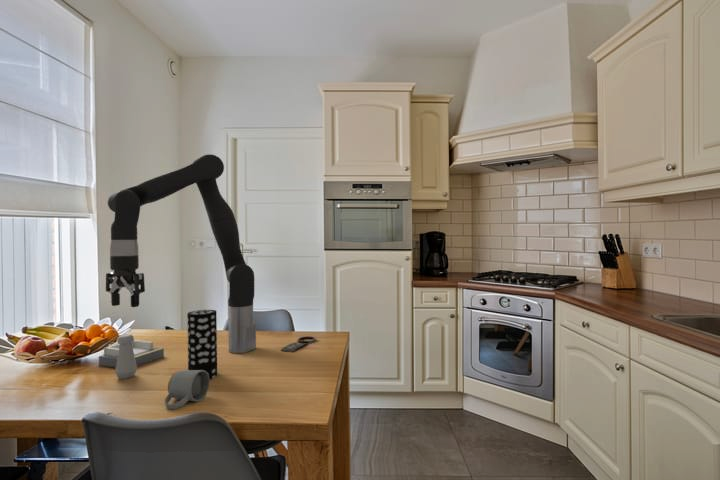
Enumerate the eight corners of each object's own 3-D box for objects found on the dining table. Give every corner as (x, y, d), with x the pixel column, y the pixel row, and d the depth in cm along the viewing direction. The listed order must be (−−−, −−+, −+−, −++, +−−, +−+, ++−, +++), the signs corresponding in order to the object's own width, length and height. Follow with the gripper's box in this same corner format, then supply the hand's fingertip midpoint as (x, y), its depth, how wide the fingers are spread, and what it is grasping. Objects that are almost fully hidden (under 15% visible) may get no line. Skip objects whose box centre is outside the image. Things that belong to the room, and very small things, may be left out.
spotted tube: (223, 373, 118) (222, 310, 118) (204, 382, 110) (203, 315, 110) (202, 370, 121) (201, 309, 121) (182, 379, 113) (181, 314, 113)
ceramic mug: (185, 391, 104) (184, 364, 104) (210, 394, 102) (210, 366, 102) (155, 409, 93) (155, 379, 93) (183, 412, 91) (182, 381, 91)
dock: (163, 356, 136) (163, 341, 136) (127, 369, 123) (127, 352, 123) (136, 353, 141) (136, 338, 141) (99, 364, 128) (98, 349, 128)
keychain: (277, 351, 141) (277, 346, 141) (303, 339, 159) (303, 334, 159) (294, 354, 138) (294, 348, 138) (319, 340, 156) (319, 336, 156)
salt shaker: (141, 373, 119) (140, 333, 119) (128, 380, 113) (127, 337, 113) (124, 373, 119) (123, 332, 119) (110, 380, 113) (110, 337, 113)
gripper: (151, 254, 117) (152, 305, 117) (120, 254, 122) (120, 303, 122) (129, 255, 110) (129, 309, 110) (97, 254, 115) (97, 307, 115)
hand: (125, 306), depth 116 cm, fingers open, 8 cm apart
